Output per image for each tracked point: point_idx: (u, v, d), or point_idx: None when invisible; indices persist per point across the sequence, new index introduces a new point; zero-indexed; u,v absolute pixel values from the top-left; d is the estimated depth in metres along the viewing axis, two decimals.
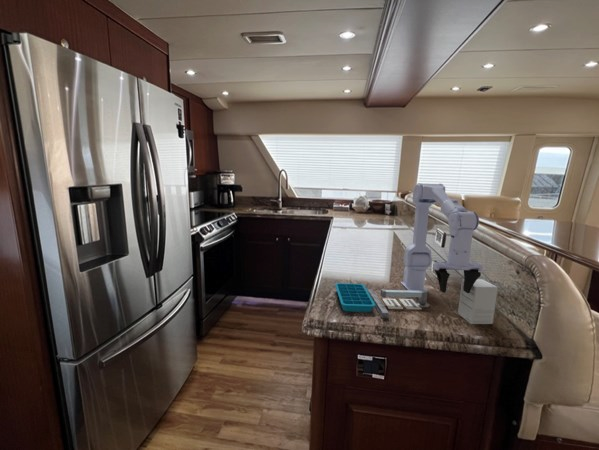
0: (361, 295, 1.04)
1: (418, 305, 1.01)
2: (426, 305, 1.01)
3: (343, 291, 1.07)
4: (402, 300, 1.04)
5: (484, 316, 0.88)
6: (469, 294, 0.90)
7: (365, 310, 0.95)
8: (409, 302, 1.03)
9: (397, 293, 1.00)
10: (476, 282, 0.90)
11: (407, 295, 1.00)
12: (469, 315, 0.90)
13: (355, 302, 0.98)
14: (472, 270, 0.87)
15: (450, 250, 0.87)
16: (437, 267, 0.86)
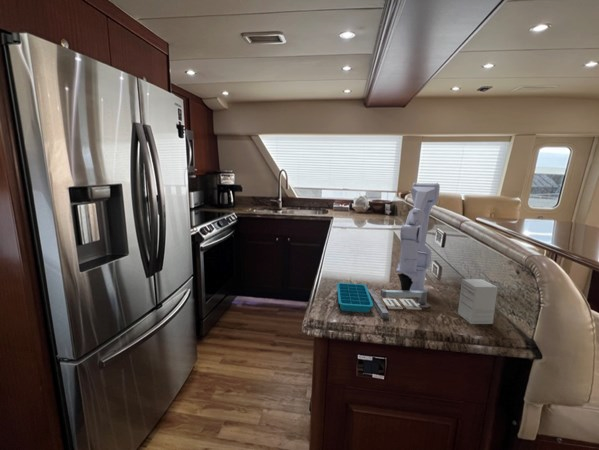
0: (361, 295, 1.04)
1: (418, 305, 1.01)
2: (426, 305, 1.01)
3: (344, 291, 1.07)
4: (402, 300, 1.04)
5: (484, 316, 0.88)
6: (469, 294, 0.90)
7: (363, 310, 0.95)
8: (409, 302, 1.03)
9: (397, 293, 1.00)
10: (476, 282, 0.91)
11: (407, 295, 1.00)
12: (469, 315, 0.90)
13: (353, 302, 0.98)
14: (405, 274, 1.01)
15: None
16: (397, 266, 1.08)
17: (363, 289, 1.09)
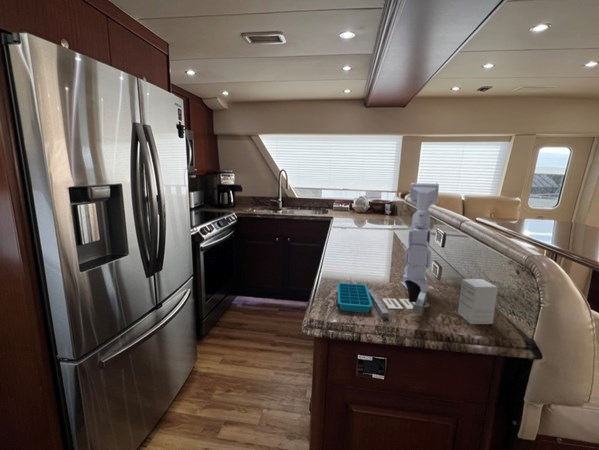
0: (361, 295, 1.04)
1: None
2: (426, 305, 1.01)
3: (344, 291, 1.07)
4: (402, 300, 1.04)
5: (484, 316, 0.88)
6: (469, 294, 0.90)
7: (362, 310, 0.95)
8: (409, 302, 1.03)
9: (422, 303, 0.93)
10: (476, 282, 0.91)
11: (423, 301, 0.96)
12: (469, 315, 0.90)
13: (353, 302, 0.98)
14: (412, 281, 0.94)
15: None
16: (404, 272, 1.01)
17: (363, 289, 1.09)
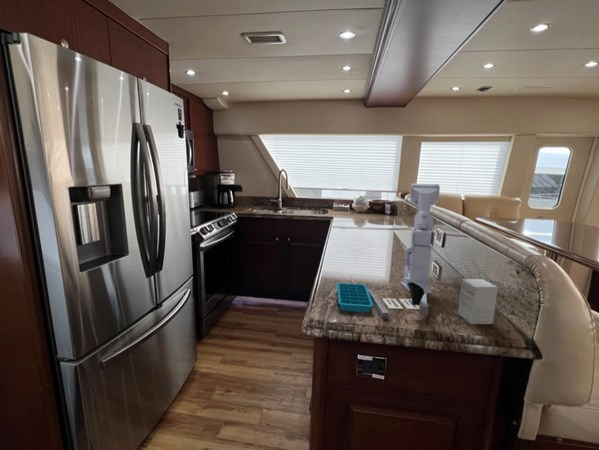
0: (361, 295, 1.04)
1: (418, 305, 1.01)
2: None
3: (344, 291, 1.07)
4: (402, 300, 1.04)
5: (484, 316, 0.88)
6: (469, 294, 0.90)
7: (363, 310, 0.95)
8: (409, 302, 1.03)
9: (426, 304, 0.92)
10: (476, 282, 0.91)
11: None
12: (469, 315, 0.90)
13: (353, 302, 0.98)
14: (416, 284, 0.92)
15: None
16: (407, 274, 0.99)
17: (363, 289, 1.09)
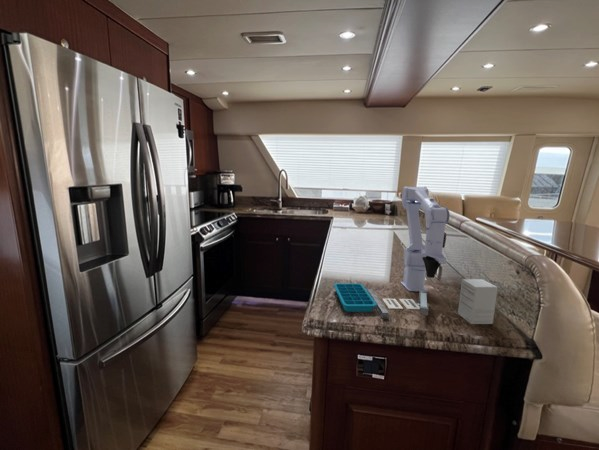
0: (361, 295, 1.04)
1: (418, 305, 1.01)
2: None
3: (343, 291, 1.07)
4: (402, 300, 1.04)
5: (484, 316, 0.88)
6: (469, 294, 0.90)
7: (367, 310, 0.95)
8: (409, 302, 1.03)
9: (426, 304, 0.92)
10: (476, 282, 0.91)
11: None
12: (469, 315, 0.90)
13: (356, 302, 0.98)
14: (431, 258, 1.00)
15: None
16: (421, 250, 1.08)
17: (360, 288, 1.10)
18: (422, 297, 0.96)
